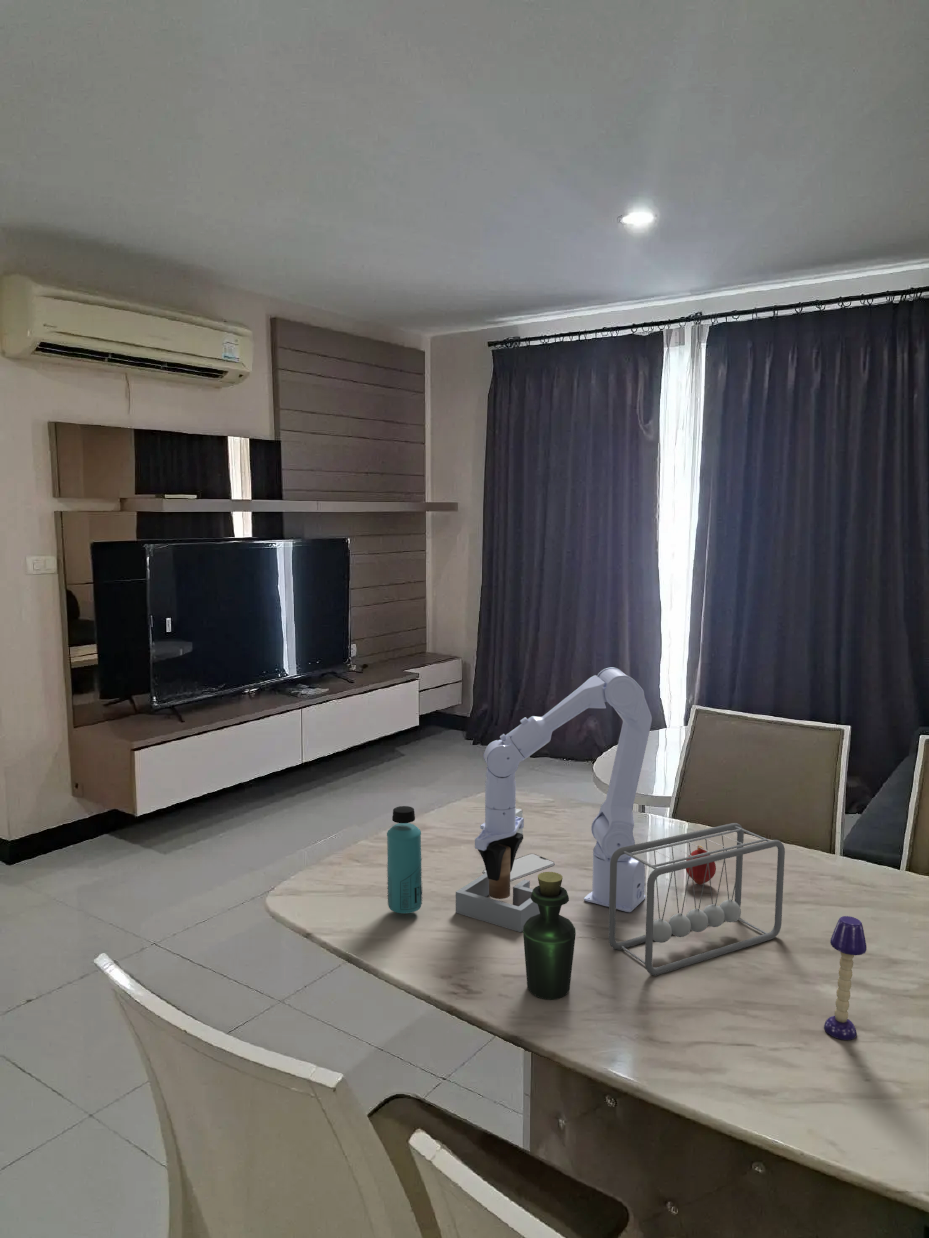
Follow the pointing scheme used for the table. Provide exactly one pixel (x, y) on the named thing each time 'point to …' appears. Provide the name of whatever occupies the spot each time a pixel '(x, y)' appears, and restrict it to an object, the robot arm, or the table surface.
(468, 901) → the channel
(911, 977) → the table surface
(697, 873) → the onion
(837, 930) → the toy lamp
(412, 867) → the beverage bottle
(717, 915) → the newton's cradle
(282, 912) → the table surface
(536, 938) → the potion bottle
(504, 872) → the peg
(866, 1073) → the table surface
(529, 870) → the smartphone
